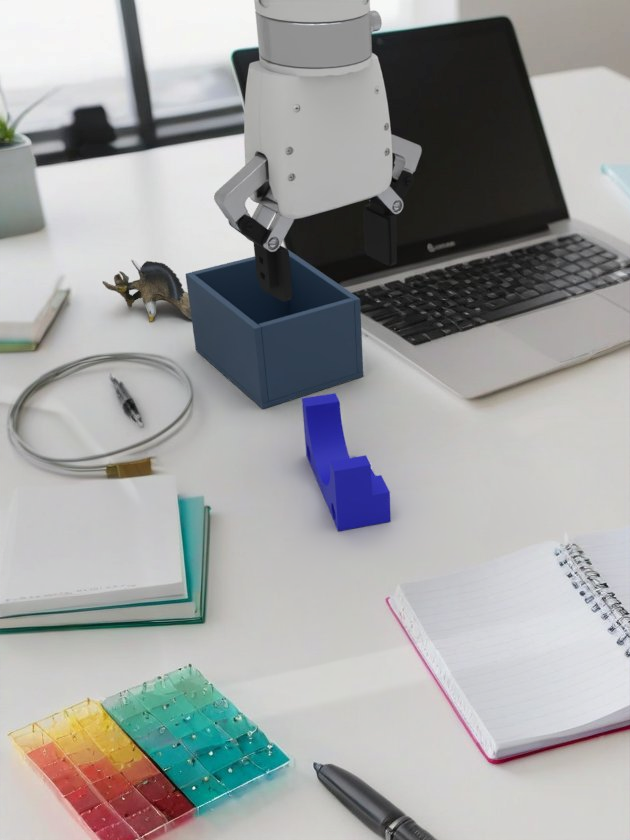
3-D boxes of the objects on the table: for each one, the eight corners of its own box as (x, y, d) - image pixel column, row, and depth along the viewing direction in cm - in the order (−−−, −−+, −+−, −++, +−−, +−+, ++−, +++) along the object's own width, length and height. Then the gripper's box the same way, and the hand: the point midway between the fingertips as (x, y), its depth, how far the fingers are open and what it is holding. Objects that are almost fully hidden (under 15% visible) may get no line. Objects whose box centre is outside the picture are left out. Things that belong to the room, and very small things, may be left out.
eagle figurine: (103, 320, 122) (183, 313, 120) (99, 252, 122) (178, 244, 120) (139, 328, 129) (214, 322, 128) (135, 264, 129) (210, 257, 127)
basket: (262, 409, 111) (254, 328, 106) (195, 350, 120) (184, 273, 115) (363, 376, 117) (360, 298, 112) (292, 322, 126) (286, 248, 121)
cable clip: (390, 521, 97) (388, 461, 93) (338, 531, 96) (334, 471, 92) (354, 447, 106) (351, 390, 102) (306, 455, 105) (301, 398, 101)
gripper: (381, 10, 84) (388, 233, 94) (170, 47, 74) (203, 292, 84) (449, 31, 80) (449, 262, 90) (234, 73, 70) (261, 328, 80)
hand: (330, 276), depth 87 cm, fingers open, 9 cm apart
